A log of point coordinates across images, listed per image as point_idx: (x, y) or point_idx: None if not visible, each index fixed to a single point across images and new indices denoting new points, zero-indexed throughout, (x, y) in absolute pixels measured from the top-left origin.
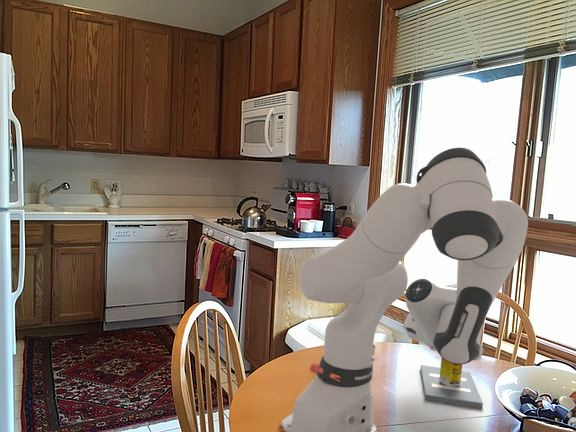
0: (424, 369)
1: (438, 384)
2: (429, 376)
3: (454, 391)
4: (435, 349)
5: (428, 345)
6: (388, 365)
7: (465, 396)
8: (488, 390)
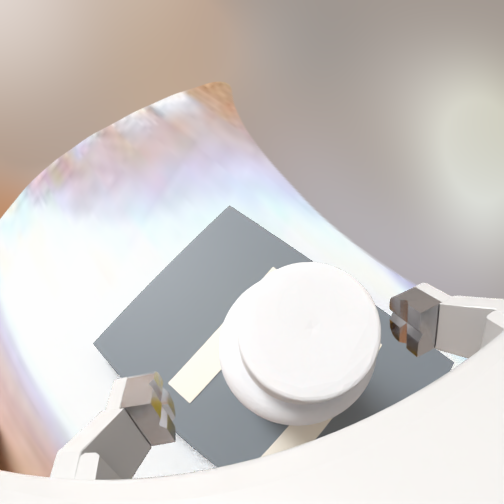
0: (128, 367)
1: (277, 433)
2: (193, 408)
3: (357, 410)
4: (171, 409)
5: (135, 469)
6: (36, 424)
7: (403, 393)
8: (340, 238)
